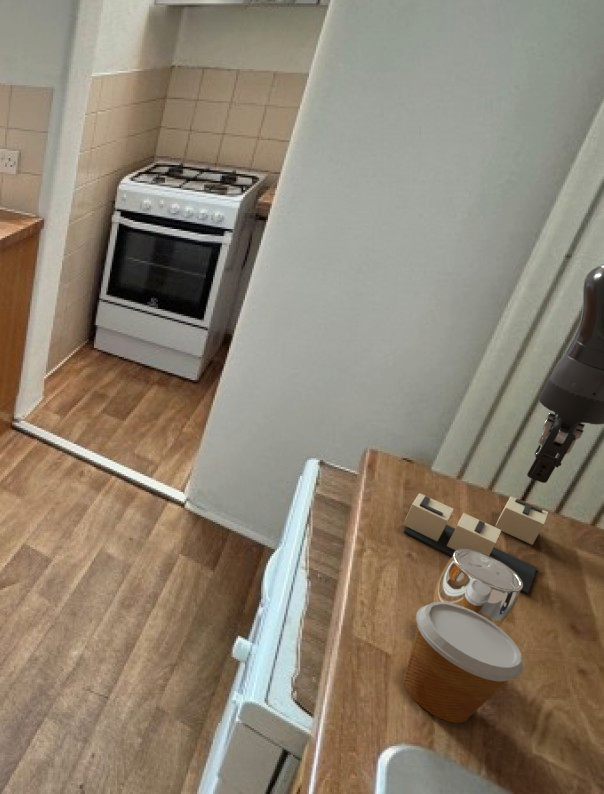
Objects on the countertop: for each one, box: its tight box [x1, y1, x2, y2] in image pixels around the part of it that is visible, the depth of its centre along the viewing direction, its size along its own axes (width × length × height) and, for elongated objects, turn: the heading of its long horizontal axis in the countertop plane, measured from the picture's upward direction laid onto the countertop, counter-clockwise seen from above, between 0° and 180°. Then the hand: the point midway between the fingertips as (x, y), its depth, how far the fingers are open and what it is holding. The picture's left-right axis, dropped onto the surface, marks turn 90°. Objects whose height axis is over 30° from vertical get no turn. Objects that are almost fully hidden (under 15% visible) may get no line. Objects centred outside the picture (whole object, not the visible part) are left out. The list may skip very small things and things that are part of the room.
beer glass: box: [432, 549, 523, 628], centre depth 81 cm, size 7×7×15 cm
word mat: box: [403, 524, 538, 595], centre depth 100 cm, size 15×8×1 cm, turn 36°
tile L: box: [402, 493, 455, 541], centre depth 103 cm, size 5×5×5 cm
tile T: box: [494, 496, 549, 546], centre depth 103 cm, size 5×5×5 cm
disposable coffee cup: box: [403, 601, 524, 724], centre depth 75 cm, size 10×10×12 cm
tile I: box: [447, 512, 502, 556], centre depth 99 cm, size 5×5×5 cm
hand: (539, 468), depth 100 cm, fingers open, 8 cm apart
